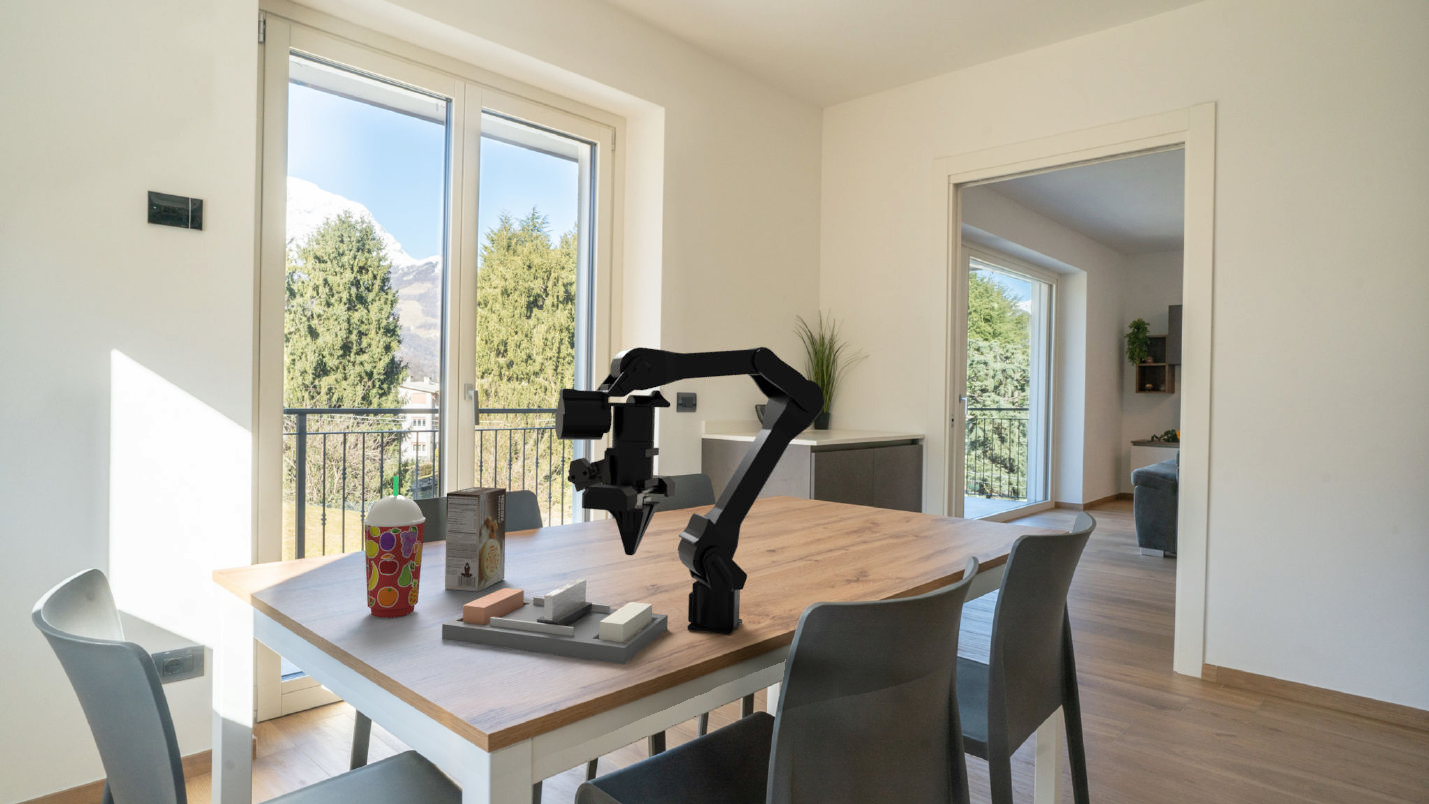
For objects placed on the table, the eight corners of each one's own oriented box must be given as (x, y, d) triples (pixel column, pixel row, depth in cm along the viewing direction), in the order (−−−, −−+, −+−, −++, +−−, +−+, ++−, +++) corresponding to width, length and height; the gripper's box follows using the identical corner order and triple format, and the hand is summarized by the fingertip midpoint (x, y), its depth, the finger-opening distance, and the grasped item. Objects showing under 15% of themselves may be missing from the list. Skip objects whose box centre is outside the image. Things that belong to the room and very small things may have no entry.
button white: (651, 622, 105) (652, 604, 105) (622, 644, 95) (622, 624, 95) (630, 619, 106) (630, 601, 106) (599, 641, 96) (599, 621, 96)
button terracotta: (523, 607, 110) (523, 590, 110) (483, 626, 101) (484, 607, 101) (504, 604, 111) (504, 587, 111) (462, 623, 102) (463, 605, 102)
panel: (667, 629, 107) (667, 607, 107) (624, 664, 92) (625, 639, 92) (504, 609, 114) (505, 589, 114) (442, 639, 100) (442, 616, 100)
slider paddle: (591, 609, 107) (592, 580, 107) (557, 629, 98) (558, 597, 98) (572, 607, 108) (573, 578, 108) (536, 627, 99) (537, 594, 99)
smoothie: (399, 602, 117) (402, 472, 117) (435, 611, 112) (438, 476, 112) (348, 614, 110) (352, 476, 110) (385, 624, 105) (389, 480, 105)
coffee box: (471, 576, 134) (474, 486, 134) (505, 579, 133) (507, 487, 133) (443, 589, 125) (445, 492, 125) (478, 592, 124) (481, 494, 124)
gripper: (607, 435, 115) (605, 538, 115) (546, 441, 97) (542, 563, 97) (677, 438, 111) (674, 544, 112) (626, 444, 94) (623, 571, 94)
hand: (630, 554), depth 103 cm, fingers closed
